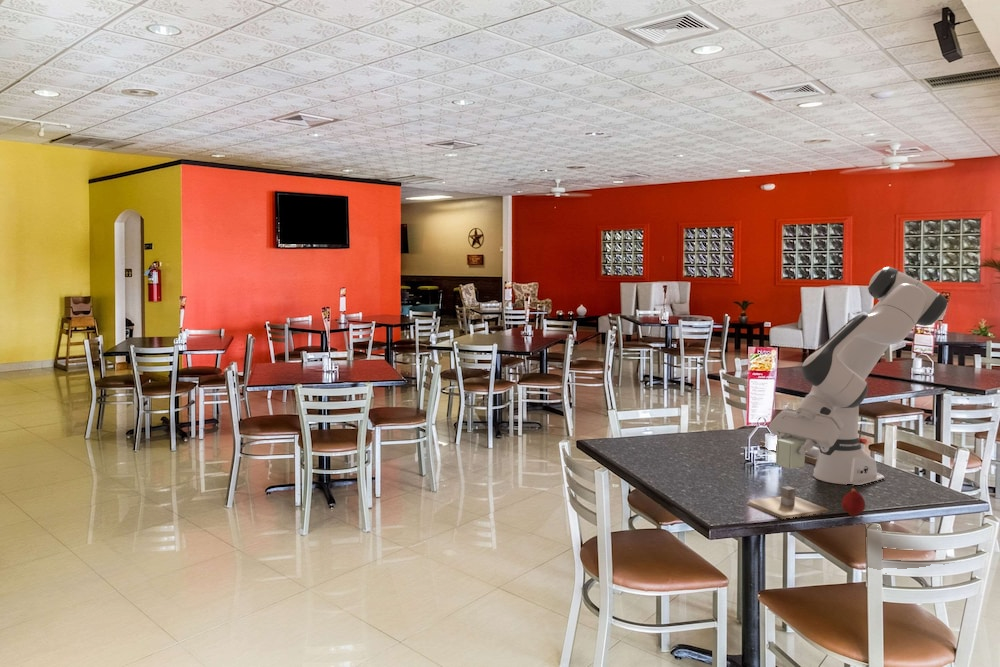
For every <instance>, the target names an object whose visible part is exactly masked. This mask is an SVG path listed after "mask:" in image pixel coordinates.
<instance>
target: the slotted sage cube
mask: <svg viewBox="0 0 1000 667" xmlns="http://www.w3.org/2000/svg"><path fill="white" fill-rule="evenodd" d="M804 444H805V441H800V440H796V439H792V438H786V439H779V440H777V444H776V452H775V465H776V466H780V467H782V468H783V467H784V468H785V469H790V470H794V469H799V468H804V467H805V463H806V461H805V453H804V455H800V454H798V453H797V452H796V450H797V449H798V447H799V446H803V445H804Z"/></svg>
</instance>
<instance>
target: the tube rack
mask: <svg viewBox="0 0 1000 667" xmlns="http://www.w3.org/2000/svg"><path fill="white" fill-rule="evenodd" d="M765 442H766V441H764V440H760V441H759V446H760V445H762V446H764V445H765ZM816 460H817V458H814V457H811V456H808V455H805V463H810V464H813V465H816Z"/></svg>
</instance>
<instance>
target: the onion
mask: <svg viewBox="0 0 1000 667" xmlns="http://www.w3.org/2000/svg"><path fill="white" fill-rule="evenodd" d="M841 507H842V509H843V510H844V511H845V512H846V513H847V514H848V515H849V516H850V517H851V516H852V517H851V518H854V517H856V516H858V515H860V514H862V513H863V512H864V510H865V508H866V501H865V499H864V497H863V495H861V494H860V493H859V492H858V491H857V490H856V489H855V488H850V491H848V492H847V493H846V494H844V496H843V497H842V500H841Z"/></svg>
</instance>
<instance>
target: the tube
mask: <svg viewBox="0 0 1000 667" xmlns="http://www.w3.org/2000/svg"><path fill="white" fill-rule="evenodd" d="M777 437H778V440H779V436H777ZM818 449H819V447H817V446H816V445H814V446H813V448H811V449H809V450H807V451H806V452H805V455H808V456H811V457H814V458H817V454H818Z"/></svg>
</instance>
